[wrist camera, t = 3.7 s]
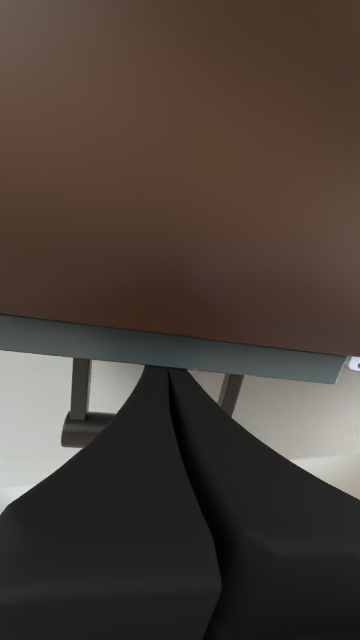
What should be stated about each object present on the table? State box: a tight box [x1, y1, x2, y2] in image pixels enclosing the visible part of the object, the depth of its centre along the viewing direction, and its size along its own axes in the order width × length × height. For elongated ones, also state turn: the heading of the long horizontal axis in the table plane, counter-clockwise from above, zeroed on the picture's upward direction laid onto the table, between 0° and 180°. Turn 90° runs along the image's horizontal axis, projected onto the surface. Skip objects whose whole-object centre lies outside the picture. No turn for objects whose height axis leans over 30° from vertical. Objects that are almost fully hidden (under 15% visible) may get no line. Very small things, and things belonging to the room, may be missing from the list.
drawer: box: [0, 313, 347, 448], centre depth 10 cm, size 17×12×6 cm
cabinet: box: [0, 0, 360, 358], centre depth 9 cm, size 14×14×8 cm
